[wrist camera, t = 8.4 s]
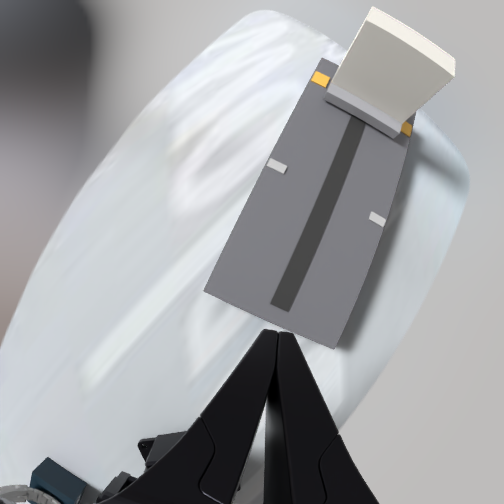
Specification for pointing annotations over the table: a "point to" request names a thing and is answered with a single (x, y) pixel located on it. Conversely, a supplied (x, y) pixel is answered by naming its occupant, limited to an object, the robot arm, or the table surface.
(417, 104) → the fader
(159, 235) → the table surface
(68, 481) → the watch
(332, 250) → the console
